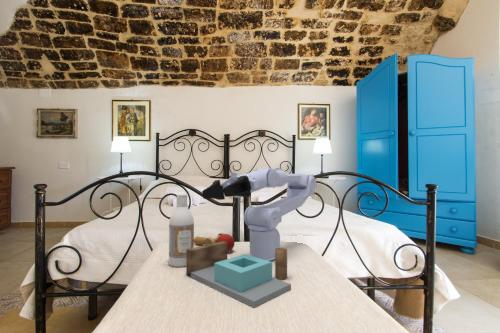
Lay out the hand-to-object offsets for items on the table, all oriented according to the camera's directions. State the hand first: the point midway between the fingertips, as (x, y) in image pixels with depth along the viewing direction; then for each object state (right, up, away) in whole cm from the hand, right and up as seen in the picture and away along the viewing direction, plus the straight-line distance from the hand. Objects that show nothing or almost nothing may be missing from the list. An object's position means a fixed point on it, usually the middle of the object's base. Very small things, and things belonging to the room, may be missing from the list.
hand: (213, 193), depth 69 cm
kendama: (-4, -22, +26) cm, 35 cm away
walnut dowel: (+17, -21, 0) cm, 27 cm away
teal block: (+7, -20, -5) cm, 21 cm away
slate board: (+5, -21, -3) cm, 22 cm away
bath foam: (-11, -21, +11) cm, 26 cm away
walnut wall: (-2, -21, +5) cm, 22 cm away
